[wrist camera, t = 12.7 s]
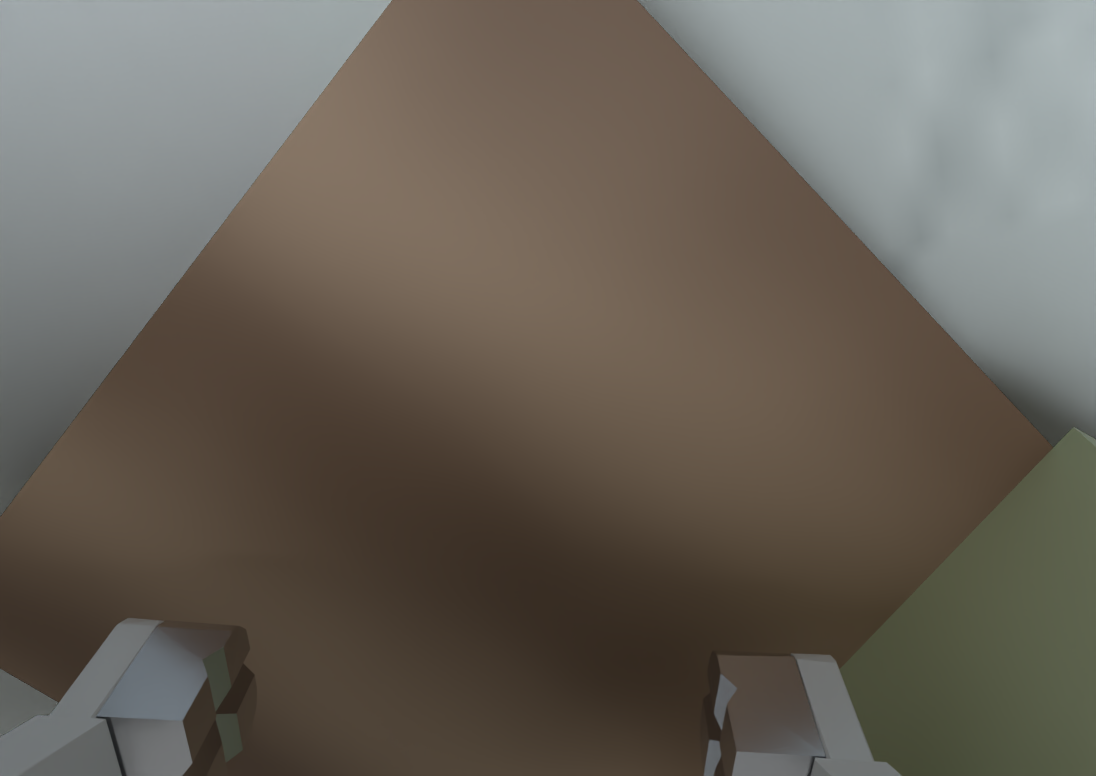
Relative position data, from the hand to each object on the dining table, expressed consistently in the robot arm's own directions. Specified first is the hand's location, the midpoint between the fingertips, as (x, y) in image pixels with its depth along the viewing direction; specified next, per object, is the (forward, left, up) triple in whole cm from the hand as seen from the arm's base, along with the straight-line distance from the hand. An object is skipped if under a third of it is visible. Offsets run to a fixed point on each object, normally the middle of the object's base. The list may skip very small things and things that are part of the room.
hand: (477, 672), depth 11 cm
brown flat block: (0, -2, -5) cm, 5 cm away
